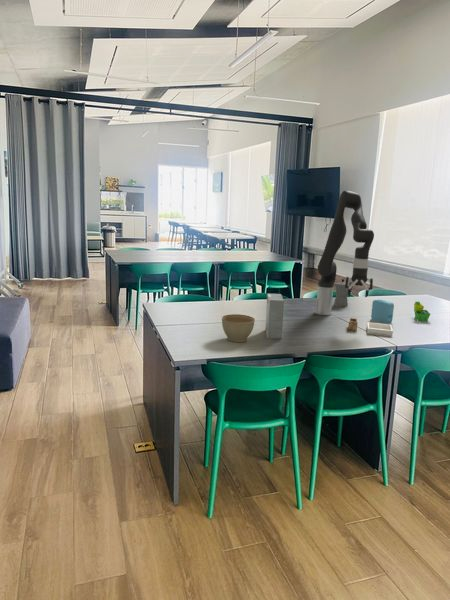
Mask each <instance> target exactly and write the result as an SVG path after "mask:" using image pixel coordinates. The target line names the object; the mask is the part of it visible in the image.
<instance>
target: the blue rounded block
mask: <svg viewBox="0 0 450 600" xmlns="http://www.w3.org/2000/svg"><path fill="white" fill-rule="evenodd" d="M394 309H395V303H393V302H391V301H386V300H384V299H374V300H372V304H371V313H370V314H371V315H370V319H371V320H373V321H376V322H380V323H381V324H390V323H392V322H393V319H394Z"/></svg>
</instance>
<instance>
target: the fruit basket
mask: <svg viewBox="0 0 450 600" xmlns="http://www.w3.org/2000/svg"><path fill="white" fill-rule="evenodd" d="M413 306H414V307H413V311H414V318H415V319H416V320H417V322H424V323H425V322H428V320H429V319H430V316H431V313H430V312H429V310H427V309H424V307H425V306H424V305H423V304H422V303H421V302H420V301H419V300H418V301H415V302H414V303H413Z"/></svg>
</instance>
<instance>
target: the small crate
mask: <svg viewBox="0 0 450 600" xmlns="http://www.w3.org/2000/svg"><path fill="white" fill-rule="evenodd" d="M358 320H359V319H358V318H355V317H354V318H353V317H349V318H348V324H347V325H348V327H347V331H352V332H357V331H358V323H359V322H358Z"/></svg>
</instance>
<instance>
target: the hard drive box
mask: <svg viewBox="0 0 450 600" xmlns="http://www.w3.org/2000/svg"><path fill="white" fill-rule="evenodd" d="M284 307H285V300H284V298H283V295H282V294H281V293H267V294H266V313H265V314H266V315H265V333H266V337H267V339H276V340H277V339H280V340H281V339H283V327H284V325H283V323H284Z"/></svg>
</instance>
